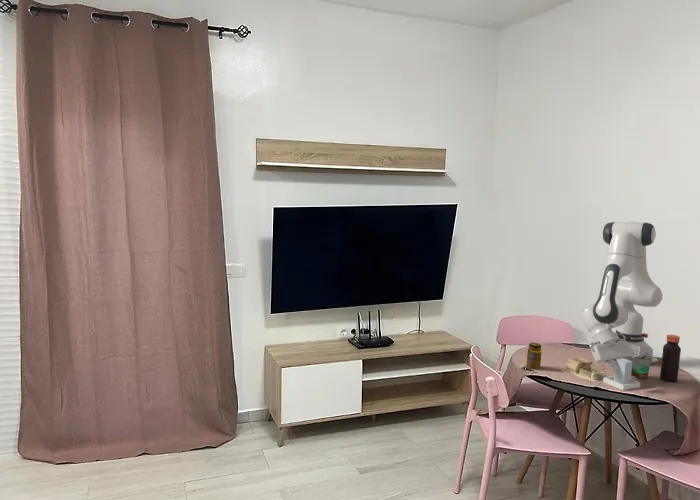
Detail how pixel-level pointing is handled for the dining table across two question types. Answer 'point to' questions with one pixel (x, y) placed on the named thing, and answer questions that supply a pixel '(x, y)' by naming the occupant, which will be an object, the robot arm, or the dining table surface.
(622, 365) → the light blue block
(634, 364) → the food container
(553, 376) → the dining table surface
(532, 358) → the condiment
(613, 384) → the white square frame
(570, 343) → the dining table surface
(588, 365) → the offcut stack
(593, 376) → the rack
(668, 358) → the bottle
